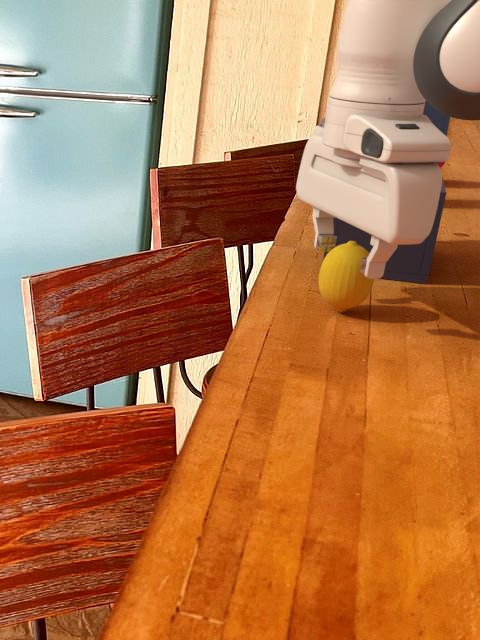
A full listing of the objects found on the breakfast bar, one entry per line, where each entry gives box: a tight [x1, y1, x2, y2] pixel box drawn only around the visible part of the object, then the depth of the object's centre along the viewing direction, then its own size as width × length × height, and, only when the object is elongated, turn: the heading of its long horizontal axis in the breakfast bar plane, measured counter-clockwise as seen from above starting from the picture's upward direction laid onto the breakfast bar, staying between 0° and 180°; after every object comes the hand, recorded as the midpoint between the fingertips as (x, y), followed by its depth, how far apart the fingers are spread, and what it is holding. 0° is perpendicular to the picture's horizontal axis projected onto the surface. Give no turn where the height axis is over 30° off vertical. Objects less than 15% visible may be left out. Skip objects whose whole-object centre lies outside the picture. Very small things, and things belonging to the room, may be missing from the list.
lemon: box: [318, 241, 375, 313], centre depth 95 cm, size 6×6×8 cm
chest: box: [322, 167, 447, 285], centre depth 112 cm, size 16×12×11 cm
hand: (346, 263), depth 93 cm, fingers open, 8 cm apart
